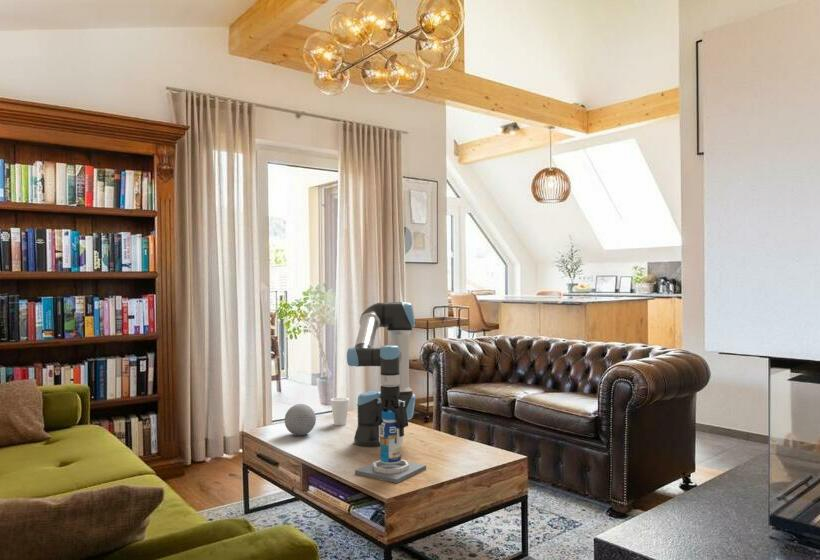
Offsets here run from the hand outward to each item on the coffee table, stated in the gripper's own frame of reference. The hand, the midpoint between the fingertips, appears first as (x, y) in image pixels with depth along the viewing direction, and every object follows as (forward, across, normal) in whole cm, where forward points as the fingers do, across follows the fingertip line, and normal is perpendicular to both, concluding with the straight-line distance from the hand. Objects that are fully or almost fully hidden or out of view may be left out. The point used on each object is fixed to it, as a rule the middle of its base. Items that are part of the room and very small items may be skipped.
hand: (390, 442), depth 238 cm
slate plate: (+11, 0, 0) cm, 11 cm away
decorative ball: (+12, -70, +21) cm, 74 cm away
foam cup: (+12, -68, +48) cm, 84 cm away
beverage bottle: (+7, 0, 0) cm, 7 cm away
